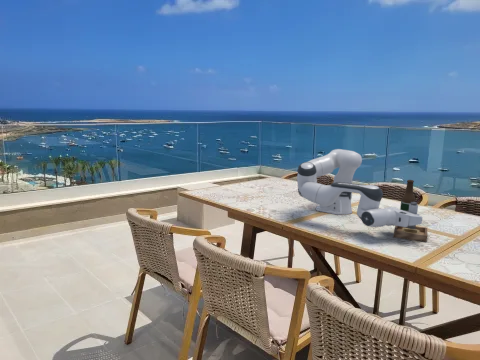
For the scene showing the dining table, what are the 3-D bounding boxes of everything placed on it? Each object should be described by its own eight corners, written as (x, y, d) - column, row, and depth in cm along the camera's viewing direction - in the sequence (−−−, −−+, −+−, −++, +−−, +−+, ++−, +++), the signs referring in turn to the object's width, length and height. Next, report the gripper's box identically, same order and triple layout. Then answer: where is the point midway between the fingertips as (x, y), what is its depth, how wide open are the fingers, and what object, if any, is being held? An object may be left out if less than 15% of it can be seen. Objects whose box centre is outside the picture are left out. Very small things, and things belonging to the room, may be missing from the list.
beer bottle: (412, 219, 216) (416, 179, 211) (414, 222, 208) (419, 181, 204) (398, 217, 218) (402, 178, 213) (400, 221, 210) (404, 180, 206)
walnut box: (393, 237, 182) (393, 230, 181) (395, 229, 195) (395, 223, 194) (426, 242, 175) (427, 235, 175) (426, 233, 189) (427, 227, 188)
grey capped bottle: (406, 228, 183) (409, 202, 181) (407, 226, 187) (409, 201, 185) (415, 229, 182) (418, 203, 179) (415, 227, 185) (418, 202, 183)
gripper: (377, 216, 189) (397, 215, 193) (407, 228, 170) (429, 225, 175) (378, 205, 187) (399, 203, 192) (409, 215, 169) (431, 213, 174)
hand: (414, 214), depth 183 cm, fingers closed on grey capped bottle, 4 cm apart
